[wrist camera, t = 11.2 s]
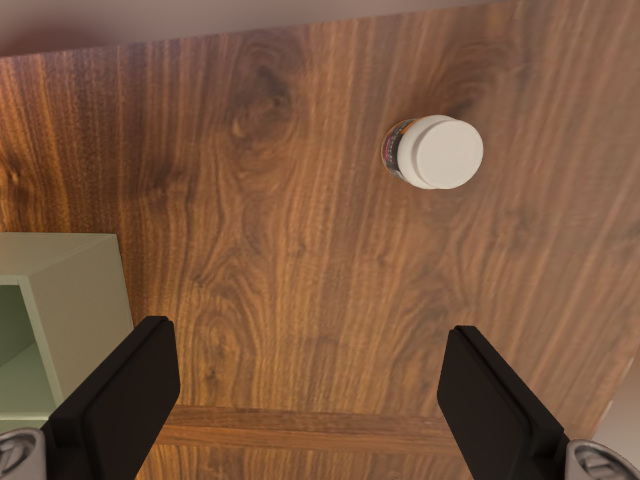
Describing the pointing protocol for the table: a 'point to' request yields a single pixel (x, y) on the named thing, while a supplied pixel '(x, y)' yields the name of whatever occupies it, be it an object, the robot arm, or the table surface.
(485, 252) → the table surface
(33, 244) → the chest
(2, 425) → the lid
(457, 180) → the pill bottle
